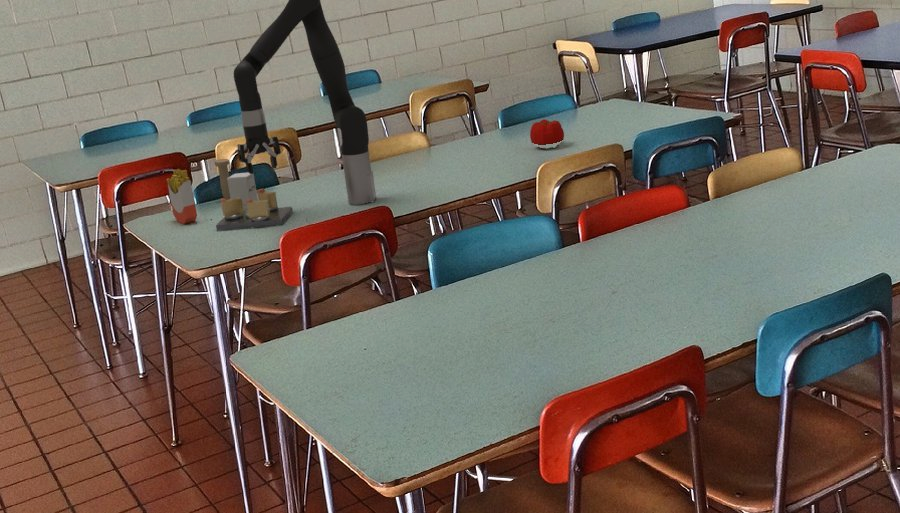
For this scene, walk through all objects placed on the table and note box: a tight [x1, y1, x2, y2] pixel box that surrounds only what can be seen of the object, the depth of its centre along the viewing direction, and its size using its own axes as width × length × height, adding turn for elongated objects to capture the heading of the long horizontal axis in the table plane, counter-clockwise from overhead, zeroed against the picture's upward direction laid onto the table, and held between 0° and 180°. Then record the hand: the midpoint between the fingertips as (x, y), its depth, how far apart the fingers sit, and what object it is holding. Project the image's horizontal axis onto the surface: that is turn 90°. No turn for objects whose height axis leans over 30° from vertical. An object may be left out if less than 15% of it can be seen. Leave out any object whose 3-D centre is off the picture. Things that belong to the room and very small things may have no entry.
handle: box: [214, 158, 231, 200], centre depth 382 cm, size 5×6×15 cm
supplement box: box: [227, 172, 259, 211], centre depth 365 cm, size 7×7×13 cm
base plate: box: [215, 206, 294, 232], centre depth 348 cm, size 22×16×4 cm
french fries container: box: [166, 168, 198, 225], centre depth 357 cm, size 5×11×18 cm, turn 37°
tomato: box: [529, 119, 565, 145], centre depth 409 cm, size 14×13×10 cm
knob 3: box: [247, 199, 270, 222], centre depth 341 cm, size 6×6×7 cm
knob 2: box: [256, 188, 279, 211], centre depth 353 cm, size 6×6×7 cm
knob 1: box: [220, 197, 244, 220], centre depth 348 cm, size 6×6×7 cm
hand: (262, 170), depth 350 cm, fingers open, 8 cm apart
